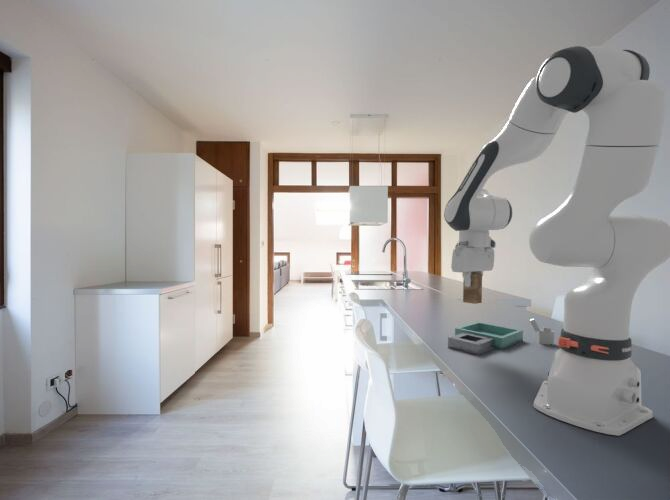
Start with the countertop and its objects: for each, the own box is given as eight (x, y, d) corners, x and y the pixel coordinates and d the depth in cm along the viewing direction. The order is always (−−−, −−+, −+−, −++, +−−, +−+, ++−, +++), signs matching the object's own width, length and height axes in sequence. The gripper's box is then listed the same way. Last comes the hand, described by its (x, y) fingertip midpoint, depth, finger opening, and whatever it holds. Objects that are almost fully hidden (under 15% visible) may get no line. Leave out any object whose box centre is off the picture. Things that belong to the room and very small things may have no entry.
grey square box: (478, 354, 103) (478, 344, 103) (447, 346, 110) (448, 337, 110) (494, 348, 109) (494, 338, 109) (464, 341, 117) (464, 332, 117)
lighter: (552, 343, 116) (553, 319, 116) (553, 344, 114) (554, 320, 114) (528, 341, 118) (529, 317, 118) (529, 342, 117) (530, 318, 117)
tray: (501, 349, 108) (502, 338, 108) (454, 338, 120) (455, 328, 120) (522, 340, 119) (523, 330, 119) (477, 331, 131) (477, 321, 131)
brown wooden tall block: (475, 303, 106) (475, 270, 106) (463, 302, 109) (463, 269, 109) (481, 302, 109) (482, 270, 109) (469, 301, 112) (470, 269, 112)
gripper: (466, 241, 100) (465, 289, 100) (498, 242, 113) (497, 285, 113) (446, 241, 105) (445, 287, 105) (479, 242, 118) (478, 283, 118)
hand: (472, 286), depth 109 cm, fingers closed on brown wooden tall block, 4 cm apart
